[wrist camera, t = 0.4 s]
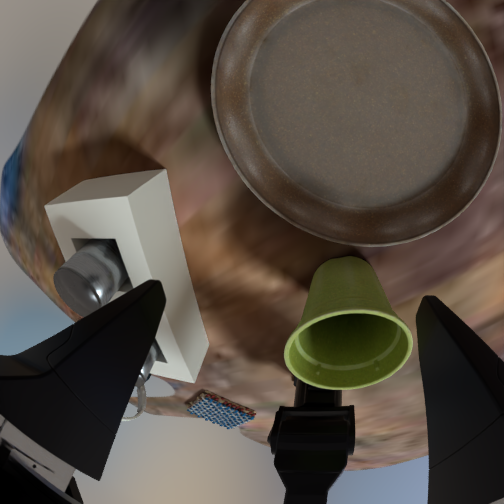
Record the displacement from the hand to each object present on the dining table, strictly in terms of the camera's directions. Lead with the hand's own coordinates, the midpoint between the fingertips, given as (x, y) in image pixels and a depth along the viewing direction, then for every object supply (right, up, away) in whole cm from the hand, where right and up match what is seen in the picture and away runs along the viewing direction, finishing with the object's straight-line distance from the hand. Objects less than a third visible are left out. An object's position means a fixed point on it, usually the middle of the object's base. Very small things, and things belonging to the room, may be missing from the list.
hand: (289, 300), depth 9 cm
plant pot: (+7, -1, +16) cm, 18 cm away
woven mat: (-7, -26, +37) cm, 46 cm away
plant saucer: (+7, +12, +8) cm, 16 cm away
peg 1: (-13, +1, +14) cm, 20 cm away
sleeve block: (-12, -1, +20) cm, 24 cm away
